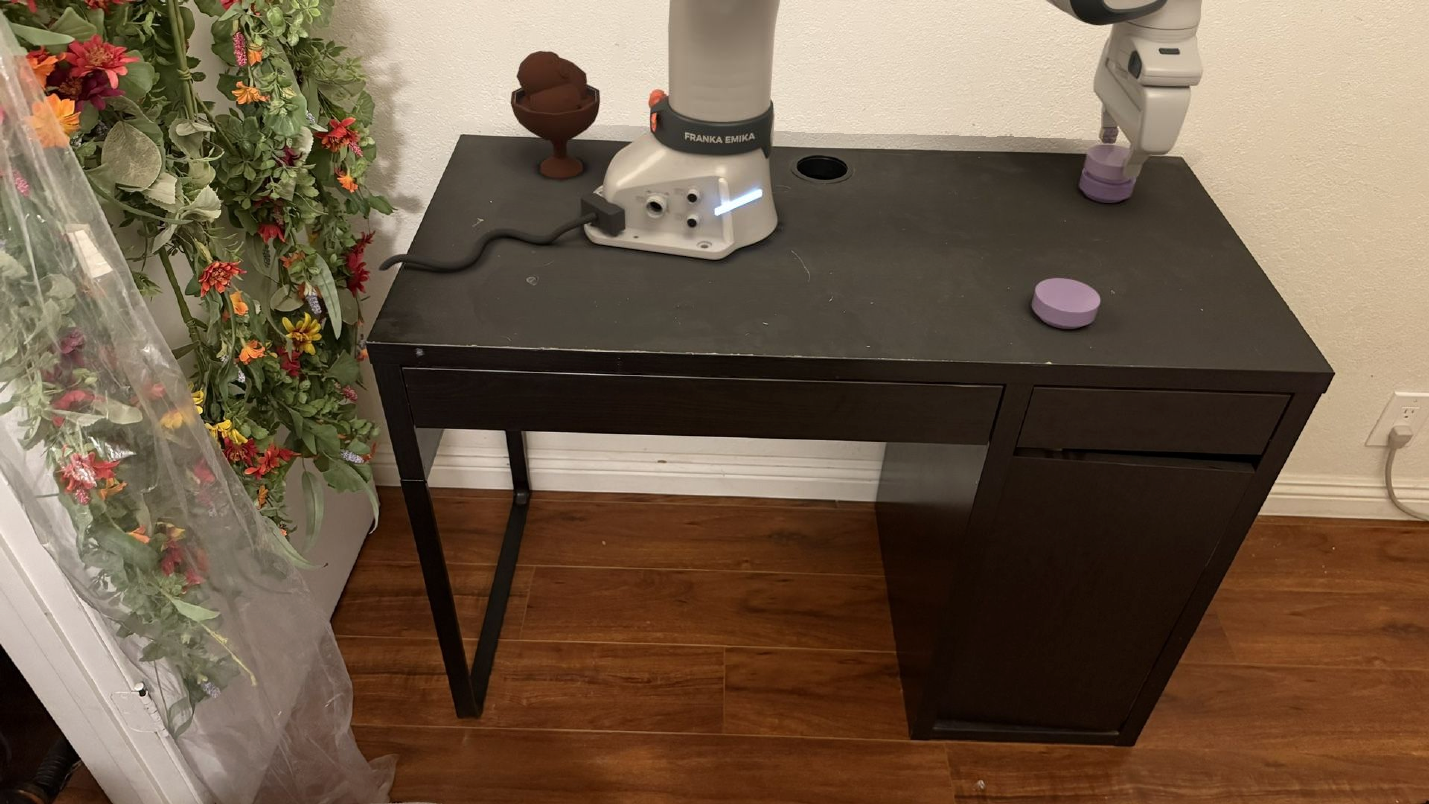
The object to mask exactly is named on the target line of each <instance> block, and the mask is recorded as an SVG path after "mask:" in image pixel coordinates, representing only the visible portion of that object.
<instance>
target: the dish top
mask: <svg viewBox="0 0 1429 804" xmlns="http://www.w3.org/2000/svg"><path fill="white" fill-rule="evenodd" d="M1130 151H1131V150H1130V149H1129V147H1125V146H1121V145H1116V144H1097V145H1093V146H1091V147H1089V148H1088V149H1087V152H1086V155H1085V159H1084V162H1083V168H1085V169H1086V170H1087V171H1088V172H1089V174H1090V175H1091V176H1092V177H1093V178H1095V179H1097V180H1099V181H1102V182H1105V183H1112V184H1120V183H1125V182H1127V181H1128V180H1131V179H1133V178H1126V177H1124V175H1123V174H1122V172H1121V170H1120V169H1121V166H1122V162H1123V158H1127V157H1128V155H1129V153H1130Z"/></svg>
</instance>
